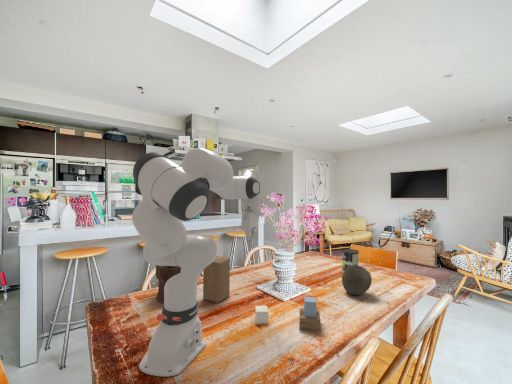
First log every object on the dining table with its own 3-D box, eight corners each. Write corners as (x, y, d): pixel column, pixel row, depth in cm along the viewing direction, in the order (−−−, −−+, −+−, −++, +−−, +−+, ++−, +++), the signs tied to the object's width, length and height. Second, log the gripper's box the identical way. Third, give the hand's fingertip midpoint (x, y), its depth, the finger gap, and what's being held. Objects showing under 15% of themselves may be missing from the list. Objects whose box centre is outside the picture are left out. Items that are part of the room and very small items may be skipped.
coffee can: (344, 273, 159) (344, 252, 159) (340, 268, 169) (341, 248, 169) (360, 274, 158) (360, 253, 157) (356, 269, 168) (356, 249, 168)
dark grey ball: (352, 301, 119) (352, 271, 119) (336, 289, 133) (337, 262, 133) (376, 299, 122) (377, 269, 122) (359, 287, 136) (359, 261, 136)
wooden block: (202, 299, 121) (202, 259, 120) (214, 291, 129) (214, 254, 129) (218, 304, 116) (218, 262, 116) (230, 295, 125) (230, 257, 124)
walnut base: (320, 332, 94) (320, 320, 94) (299, 330, 95) (299, 317, 95) (318, 321, 101) (319, 310, 101) (299, 319, 103) (299, 308, 103)
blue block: (316, 317, 96) (316, 302, 96) (304, 316, 96) (305, 301, 96) (314, 311, 100) (315, 297, 100) (303, 310, 101) (304, 296, 100)
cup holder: (199, 290, 131) (199, 244, 131) (175, 312, 108) (175, 256, 108) (169, 286, 136) (169, 242, 135) (139, 307, 112) (139, 253, 112)
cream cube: (268, 323, 100) (268, 311, 100) (256, 323, 99) (256, 311, 99) (266, 317, 105) (266, 305, 105) (255, 317, 104) (255, 305, 104)
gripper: (253, 208, 96) (252, 242, 96) (261, 204, 116) (261, 233, 116) (237, 207, 97) (237, 242, 97) (248, 204, 117) (248, 232, 117)
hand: (250, 237), depth 107 cm, fingers open, 8 cm apart
